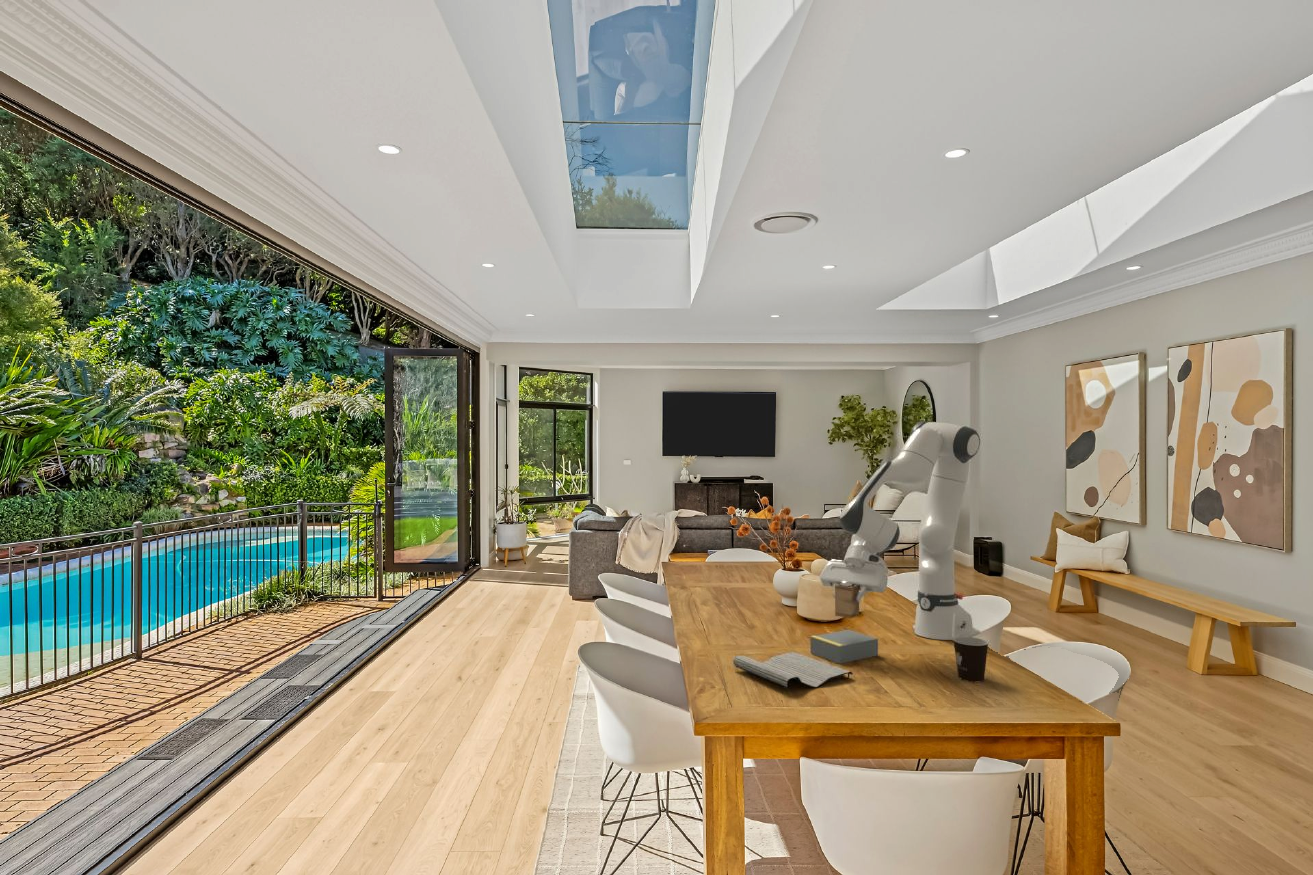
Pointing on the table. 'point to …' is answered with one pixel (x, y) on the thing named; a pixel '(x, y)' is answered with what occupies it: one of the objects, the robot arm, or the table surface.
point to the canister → (846, 583)
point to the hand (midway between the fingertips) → (846, 599)
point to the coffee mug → (970, 658)
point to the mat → (791, 669)
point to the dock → (844, 646)
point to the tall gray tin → (846, 601)
